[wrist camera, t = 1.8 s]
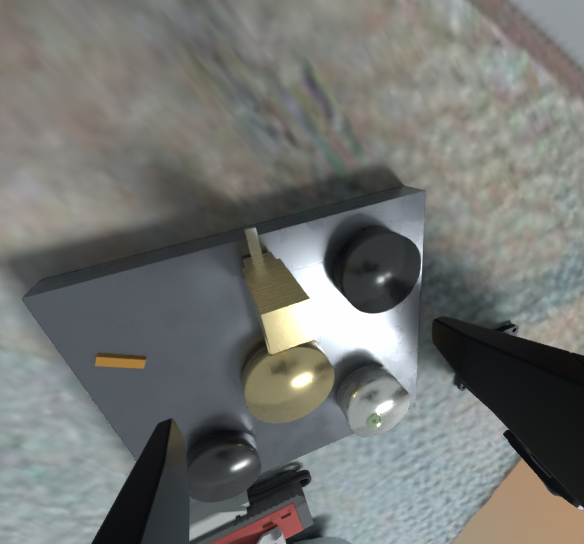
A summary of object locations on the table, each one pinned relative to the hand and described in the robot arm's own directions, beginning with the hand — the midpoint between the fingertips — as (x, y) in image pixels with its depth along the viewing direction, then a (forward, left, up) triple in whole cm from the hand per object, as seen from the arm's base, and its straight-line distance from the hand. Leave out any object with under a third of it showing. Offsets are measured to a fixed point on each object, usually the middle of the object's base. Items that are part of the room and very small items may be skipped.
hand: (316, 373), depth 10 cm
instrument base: (0, +8, -10) cm, 13 cm away
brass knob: (0, +5, -8) cm, 10 cm away
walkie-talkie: (+10, +25, -11) cm, 29 cm away
